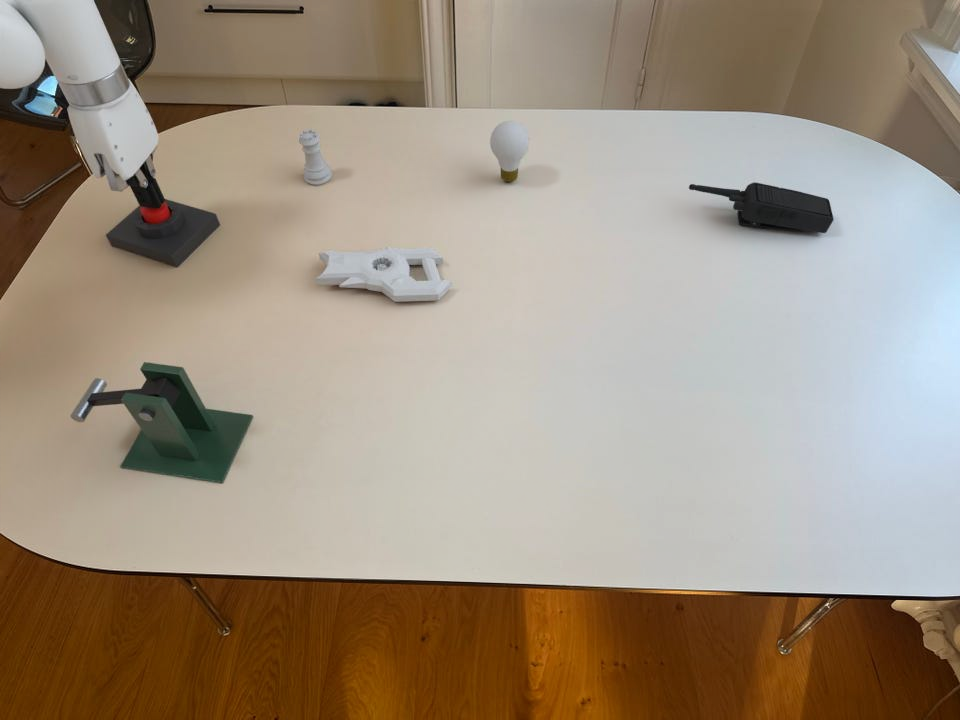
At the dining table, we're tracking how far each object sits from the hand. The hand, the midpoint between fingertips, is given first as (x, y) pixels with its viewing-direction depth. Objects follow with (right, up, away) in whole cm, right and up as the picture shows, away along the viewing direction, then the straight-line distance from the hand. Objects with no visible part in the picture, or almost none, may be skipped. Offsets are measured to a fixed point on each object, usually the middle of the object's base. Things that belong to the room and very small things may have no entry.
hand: (152, 203), depth 100 cm
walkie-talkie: (+86, -2, +4) cm, 87 cm away
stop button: (0, -1, +2) cm, 2 cm away
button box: (0, -4, +4) cm, 6 cm away
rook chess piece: (+21, +7, +13) cm, 25 cm away
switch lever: (+9, -27, -24) cm, 37 cm away
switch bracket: (+13, -32, -19) cm, 40 cm away
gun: (+33, -11, -2) cm, 35 cm away
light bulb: (+51, +6, +11) cm, 53 cm away
